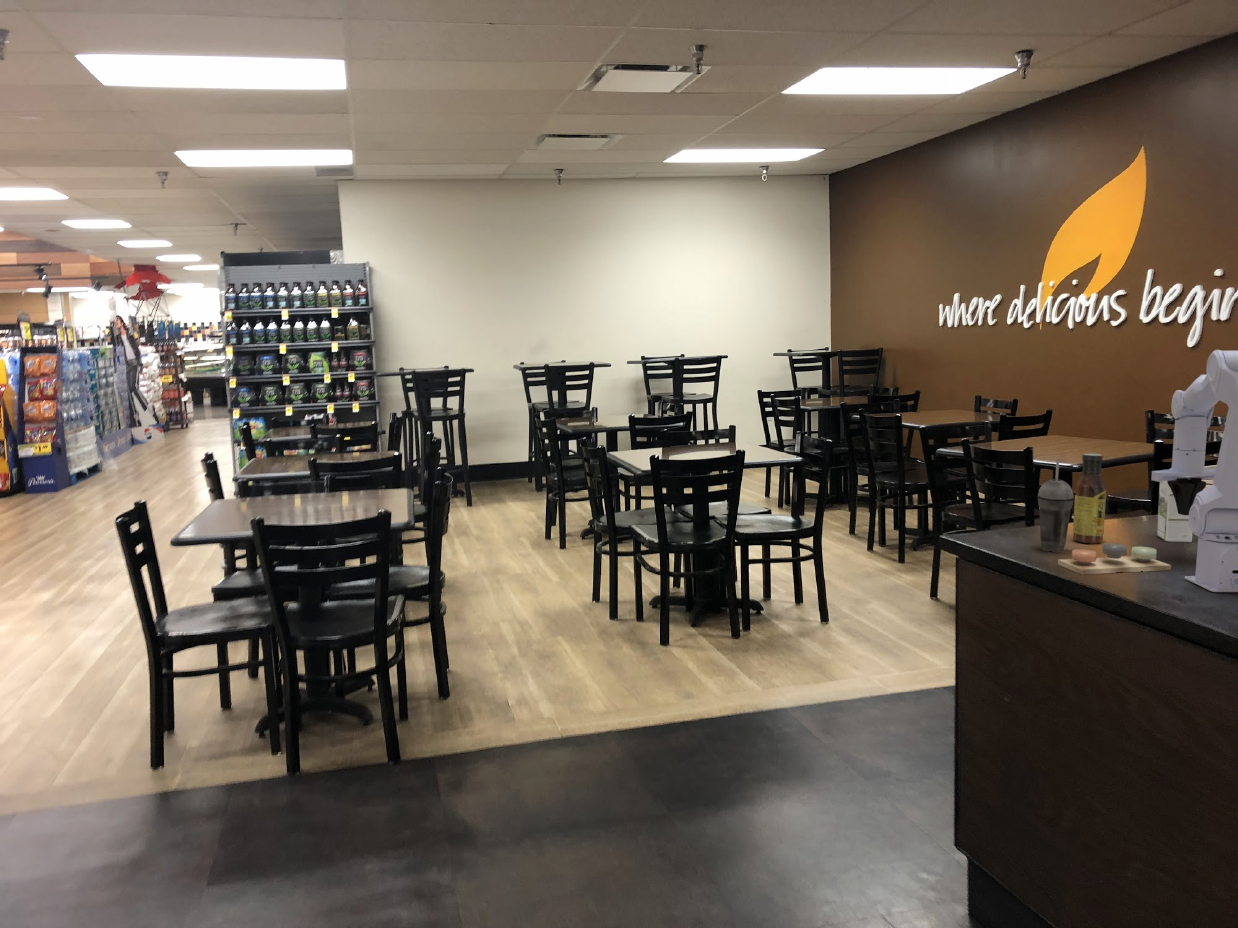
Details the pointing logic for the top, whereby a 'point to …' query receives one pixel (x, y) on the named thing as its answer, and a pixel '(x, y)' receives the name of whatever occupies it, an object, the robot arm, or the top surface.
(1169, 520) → the syrup box
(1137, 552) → the sage button
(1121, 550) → the charcoal button
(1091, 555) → the terracotta button
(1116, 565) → the button board
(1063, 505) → the beverage cup
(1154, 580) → the top surface
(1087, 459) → the sauce bottle
